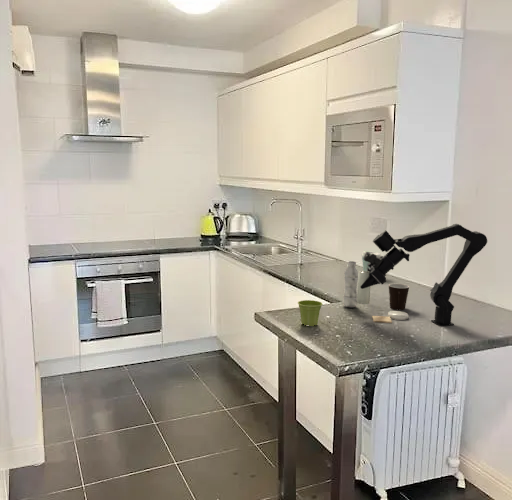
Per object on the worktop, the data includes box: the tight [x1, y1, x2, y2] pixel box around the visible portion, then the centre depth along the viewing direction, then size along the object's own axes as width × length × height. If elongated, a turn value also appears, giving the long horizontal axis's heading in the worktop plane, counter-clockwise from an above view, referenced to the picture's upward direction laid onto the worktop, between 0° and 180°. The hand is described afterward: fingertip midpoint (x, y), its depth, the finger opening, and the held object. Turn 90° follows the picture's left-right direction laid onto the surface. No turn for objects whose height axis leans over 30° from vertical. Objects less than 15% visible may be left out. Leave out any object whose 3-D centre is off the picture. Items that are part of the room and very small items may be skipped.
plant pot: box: [297, 299, 323, 327], centre depth 199 cm, size 9×9×9 cm
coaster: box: [371, 315, 393, 324], centre depth 208 cm, size 7×7×1 cm
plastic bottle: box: [342, 261, 359, 308], centre depth 225 cm, size 6×7×20 cm
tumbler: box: [357, 270, 371, 305], centre depth 207 cm, size 5×5×12 cm
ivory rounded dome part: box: [387, 310, 409, 321], centre depth 212 cm, size 8×8×2 cm
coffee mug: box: [388, 283, 410, 311], centre depth 224 cm, size 12×9×10 cm
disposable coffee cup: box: [361, 250, 382, 271], centre depth 285 cm, size 11×11×15 cm
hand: (360, 286), depth 207 cm, fingers closed on tumbler, 5 cm apart
